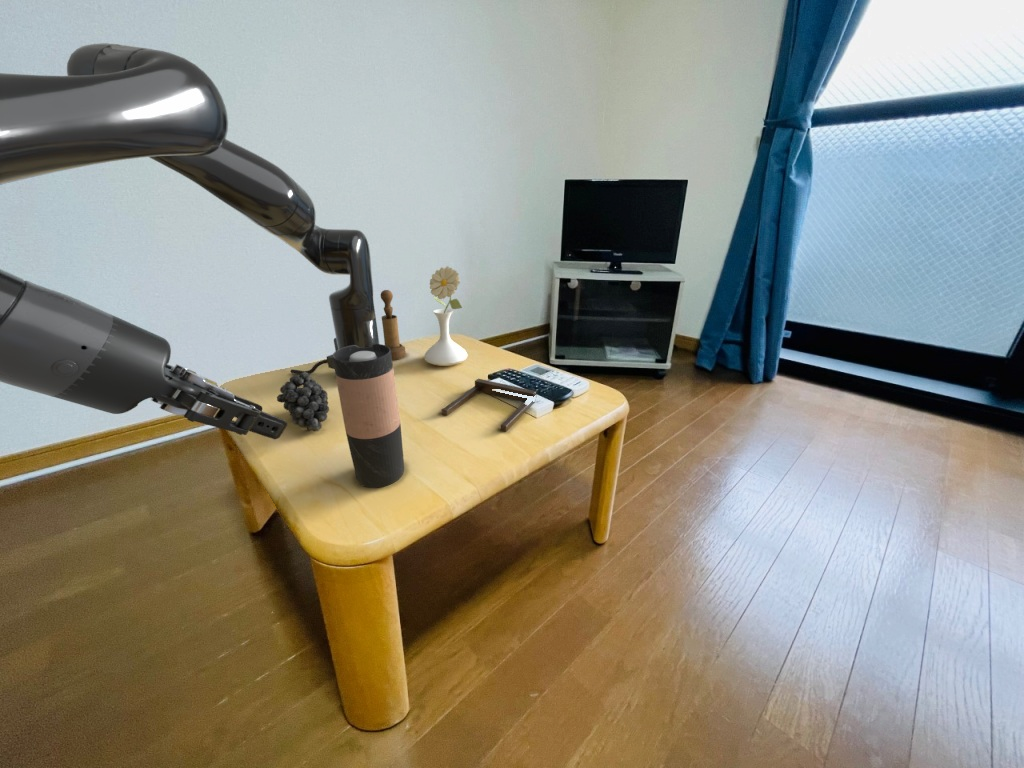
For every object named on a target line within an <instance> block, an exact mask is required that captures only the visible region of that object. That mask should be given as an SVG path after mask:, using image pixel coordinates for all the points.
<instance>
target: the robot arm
mask: <svg viewBox="0 0 1024 768" xmlns="http://www.w3.org/2000/svg"><path fill="white" fill-rule="evenodd" d="M228 116H229V115H228V110H227V106H226V103H225V102H224V98H223V96H222V94H221V91H219V88H218V87H217V86H216V84H215V83H214V81H213V80H212V78H211V77H210V76H209V75H208V74H207V73H206V72H205V71H204V70H203V69H201V68H200V67H199V66H198V65H196V64H195V63H193V62H191V61H190V60H188V59H186V58H184V57H183V56H179V55H177V54H175V53H171V52H168V51H164V50H161V49H153V48H147V47H140V46H134V45H127V44H118V43H107V42H105V43H104V42H103V43H102V42H101V43H91V44H85V45H82V46H79V47H77V48H76V49H75V50H74V51H73V52H72V53H71V54H70V56H69V58H68V61H67V62H66V75H45V74H44V75H41V74H39V75H38V74H25V73H23V74H22V73H3V72H0V186H1V185H5V184H6V185H7V184H10V183H14V182H18V181H22V180H26V179H32V178H36V177H40V176H44V175H50V174H54V173H58V172H63V171H69V170H72V169H79V168H83V167H88V166H95V165H99V164H105V163H110V162H111V163H112V162H118V161H125V160H133V159H141V158H143V159H144V158H150V159H151V160H154V161H155V162H157V163H158V164H161V165H163V166H165V167H166V168H168V169H170V170H172V171H174V172H176V173H178V174H180V175H181V176H183V177H185V178H187V179H188V180H190V181H192V182H193V183H194V184H196V185H198V186H199V187H201V188H202V189H204V190H205V191H207V192H208V193H210V194H211V195H212V196H213V197H215V198H217V199H218V200H220V201H221V202H222V203H225V205H227V206H229V207H231V208H232V209H234V210H235V211H237V212H238V213H240V214H241V215H242V216H244V217H245V218H247V219H248V220H250V221H251V222H252V223H254V224H256V225H257V226H258V227H260V228H261V229H263V230H265V231H266V232H268V233H269V234H271V235H273V236H275V238H278V239H279V240H281V241H282V242H284V243H285V244H287V245H288V246H289V247H291V248H292V249H294V250H296V251H297V252H298V253H299V254H300V255H301V256H303V257H304V259H306V260H307V261H308V262H309V263H310V264H312V265H313V266H314V267H315V268H316V269H317V270H319V271H320V272H321V273H324V274H327V275H334V276H335V275H336V276H349V284H348V285H347V286H346V287H343V288H341V289H338V290H335V291H333V292H331V293H330V294H328V302H329V306H330V313H331V318H332V324H333V329H334V335H335V337H334V339H333V345H334V352H335V351H337V350H339V349H341V348H344V347H347V346H351V345H357V346H358V347H361V348H366V347H371V346H373V345H374V344H380V340H379V339H380V338H379V331H378V324H377V317H376V316H377V315H376V310H375V301H374V282H373V272H372V260H371V259H372V258H371V249H370V244H369V241H368V238H367V237H366V235H365V233H364V232H363V231H361V230H359V229H346V228H345V229H344V228H343V229H342V228H341V229H340V228H338V229H337V228H324V227H320V226H319V225H317V224H316V222H317V221H316V220H317V211H316V207H315V204H314V202H313V199H312V197H311V196H310V195H309V194H308V192H307V191H306V190H305V189H304V188H303V187H302V186H301V185H300V184H299V183H298V182H297V181H296V180H295V179H294V178H292V176H290V175H289V174H288V173H287V172H286V171H284V170H283V169H282V168H280V166H278V165H276V164H274V163H273V162H271V161H270V160H267V159H266V158H264V157H262V156H260V155H258V154H257V153H255V152H253V151H251V150H249V149H246V148H245V147H243V146H242V145H238V144H236V143H235V142H233V141H230V140H229V139H226V138H227V135H228V132H229V117H228ZM171 352H172V348H171V344H170V342H169V341H168V340H167V339H166V338H164V337H162V336H160V335H159V334H158V335H157V334H156V333H154V332H151V331H149V330H147V329H144V328H142V327H140V326H138V325H136V324H134V323H131V322H129V321H127V320H126V319H125V320H124V319H122V318H120V317H118V316H116V315H113V314H112V313H109V312H107V311H104V310H102V309H100V308H98V307H96V306H93V305H91V304H89V303H87V302H85V301H82V300H80V299H77V298H75V297H73V296H71V295H68V294H65V293H62V292H59V291H57V290H54V289H50V288H47V287H45V286H43V285H39V284H36V283H34V282H31V281H29V280H24V278H22V277H21V276H17V275H15V274H13V273H11V272H8V271H7V270H4V269H2V268H0V383H3V384H7V385H10V386H12V387H17V388H21V389H24V390H27V391H31V392H34V393H38V394H41V395H45V396H49V397H52V398H55V399H59V400H63V401H66V402H70V403H72V404H73V403H74V404H77V405H81V406H84V407H87V408H91V409H94V410H98V411H101V412H105V413H108V414H113V415H118V414H119V415H120V414H124V413H128V412H129V411H131V410H134V409H135V408H136V407H138V405H139V404H141V403H142V402H144V401H146V400H148V399H150V401H151V402H153V403H156V404H158V405H159V409H161V410H163V411H165V412H168V413H171V414H173V415H175V416H182V415H183V418H186V419H187V420H188V421H189V422H191V423H192V422H193V423H194V422H196V423H199V424H202V425H203V424H204V425H206V426H211V427H214V428H217V429H220V430H221V429H222V430H225V431H229V432H233V433H236V434H238V435H239V436H247V435H248V433H249V432H251V433H253V434H257V435H260V436H262V437H265V438H269V439H272V440H278V439H279V438H280V437H281V436H282V434H283V433H284V431H285V429H286V428H287V426H288V422H287V421H286V420H284V419H282V418H280V417H277V416H276V415H272V414H270V413H267V412H265V411H263V406H262V405H260V404H259V403H256V402H253V401H251V400H248V399H246V398H243V397H240V396H238V395H236V394H234V392H232V391H230V390H228V389H227V388H226V387H220V386H219V385H218V383H217V382H216V381H214V380H212V379H211V378H208V377H206V376H203V375H201V374H198V373H196V371H194V370H192V369H190V368H187V367H186V366H183V365H181V364H178V363H177V364H175V366H173V365H171V364H169V362H170V359H171V354H172V353H171ZM332 356H333V353H332V354H330V355H327V356H326V359H323V360H320V361H318V362H316V363H315V364H314V365H313V366H312V367H311V368H310V369H309V370H301V369H300V370H299V369H290V373H291V374H294V375H300V373H302V372H307V373H308V374H309V375H311V374H313V373H314V372H315V371H317V369H318V368H319V367H320V366H322V365H325V364H327V367H328V369H332V370H335V369H334V364H333V357H332ZM235 418H236V419H235ZM234 419H235V420H234Z"/></svg>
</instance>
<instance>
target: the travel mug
mask: <svg viewBox="0 0 1024 768" xmlns="http://www.w3.org/2000/svg"><path fill="white" fill-rule="evenodd" d="M332 354H333V356H332V357H333V364H334V369H333V370H334V373H335V374H334V375H335V379H336V385H337V391H338V397H339V402H340V403H339V404H340V408H341V414H342V419H343V424H344V430H345V436H346V439H347V443H348V448H349V452H350V456H351V461H352V465H353V469H354V473H355V477H356V480H357V482H358V483H359V484H360V486H363V487H365V488H370V489H371V488H372V489H379V488H383V487H388V486H390V485H393V484H394V483H396V482H398V481H399V480H400V479H401V478H402V476H403V475H404V472H405V459H404V449H403V437H402V435H403V434H402V425H401V416H400V415H401V414H400V408H399V402H398V401H399V400H398V395H397V394H398V393H397V386H396V379H395V370H394V363H393V360H392V355H391V350H390V348H389V347H387V346H385V344H380V343H379V344H374V345H373V346H371V347H366V348H361V347H358V346H357V345H351V346H347V347H344V348H341V349H339V350H337V351H335V350H334V352H333V353H332Z"/></svg>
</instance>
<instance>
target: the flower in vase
mask: <svg viewBox="0 0 1024 768" xmlns="http://www.w3.org/2000/svg"><path fill="white" fill-rule="evenodd" d="M434 272H435V273H433V274H431V278H430V280H429V289H430V294H431V295H432V296H433V299H434V300H435V301H436V302H438V303H439V304H441V305H442V306H444V307H445V308H436V309H433V311H432V312H433V314H434V315H435V316H436V318H437V321H438V325H439V338H438V340H437V341H436V342H435V343H434V344H432V345H431V347H429V348H428V349H427V350H426V351H425V353H424V355H423V358H424V360H425V361H426V362H427V364H430V365H434V366H441V367H443V366H444V367H447V366H449V367H450V366H454V365H458V364H460V363H463V362H465V360H466V359H467V358H468V353H467V351H466V350H465V348H463V347H462V346H461V345H459V344H458V343H456V342H455V341H454V340H452V338H451V336H450V327H449V326H450V320H451V316H452V314H453V313H454V310H458V309H463V306H462V305H461V303H460V301H459V299H458V298H454V299H452V296H453V295H454V294H455V291H457V290H458V287H459V286H460V284H461V282H460V273H459V272H457V270H456V269H453V268H452V267H450V266H449V265H448V266H445V267H443V266H442V267H440V268H439V269H436V270H435V271H434ZM446 298H449V300H448V303H447V304H446V303H445V302H443V301H442V299H443V300H444V299H446ZM449 305H450V308H448V307H449Z"/></svg>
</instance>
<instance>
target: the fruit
mask: <svg viewBox="0 0 1024 768" xmlns="http://www.w3.org/2000/svg"><path fill="white" fill-rule="evenodd" d="M310 375H311V374H308V373H307V372H302V373H300V374H292V375H291V376H290V377H289V381H286V382H285V383H284V384H283V385H282V386H281V387H280V388H279V391H280V393H281V394H278V395H277V396H276V401H277V402H278V403H281V404H283V409H284V410H286V411H288V413H289V416H290V418H291V420H292V423H293V424H294V425H298V426H299V427H301V428H305V429H306V430H307V431H313V432H319V431H320V430H321V429H322V428H323V426H322V423H324V422H325V421H326V420H327V419H328V412H330V407H329V400H328V399H329V397H328V392H327V391H326V390H325V389H324V388H323V386H322V385H321V383H317V380H316V379H315V378H311V376H310Z"/></svg>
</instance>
